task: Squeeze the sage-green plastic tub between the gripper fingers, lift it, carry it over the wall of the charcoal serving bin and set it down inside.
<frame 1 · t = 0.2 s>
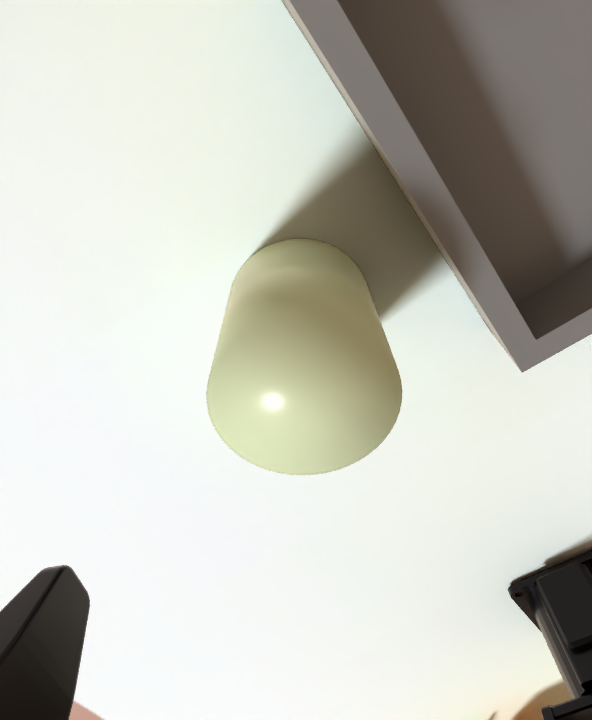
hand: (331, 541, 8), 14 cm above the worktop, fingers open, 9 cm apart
salad tub: (299, 307, 22), on the worktop
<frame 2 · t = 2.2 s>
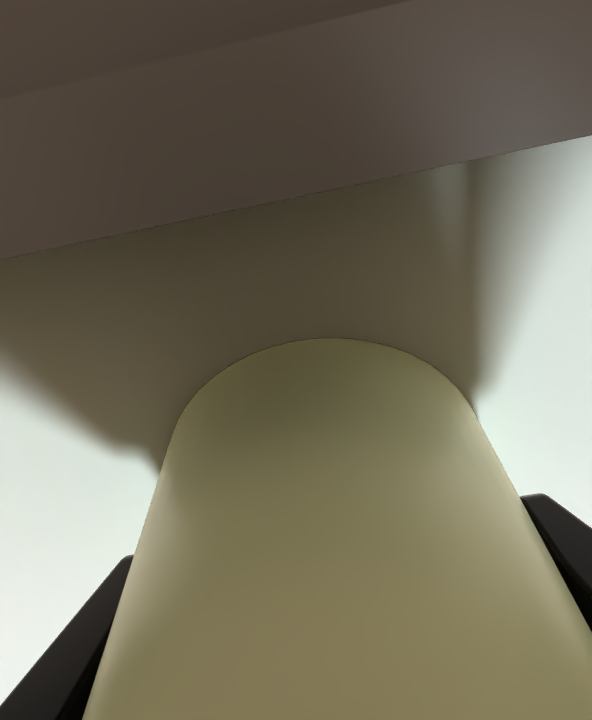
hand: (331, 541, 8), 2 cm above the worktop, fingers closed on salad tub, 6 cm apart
salad tub: (325, 476, 10), on the worktop, touching gripper
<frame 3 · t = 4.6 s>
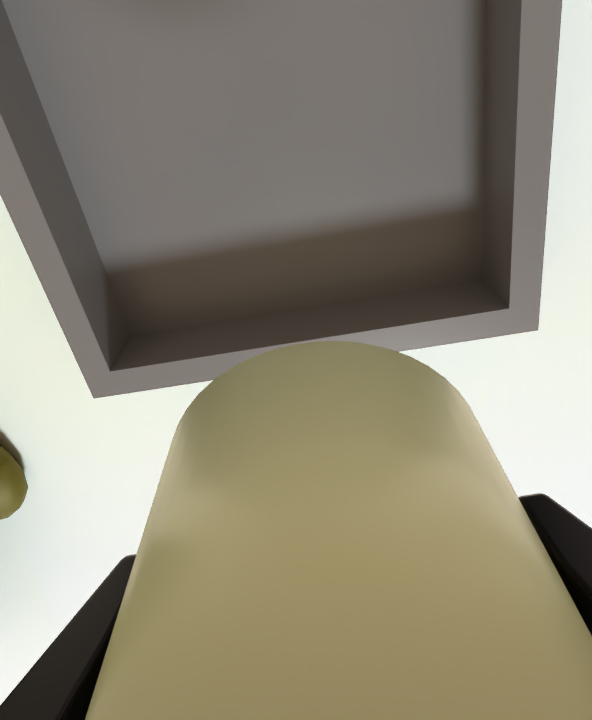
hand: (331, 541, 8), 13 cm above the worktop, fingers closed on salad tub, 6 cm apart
salad tub: (325, 478, 10), point 12 cm above the worktop, touching gripper
serving bin: (266, 111, 17), on the worktop
when the fingers open (4 cm above the worktop, at t = 7.2 s): salad tub drops 1 cm, resting on serving bin.
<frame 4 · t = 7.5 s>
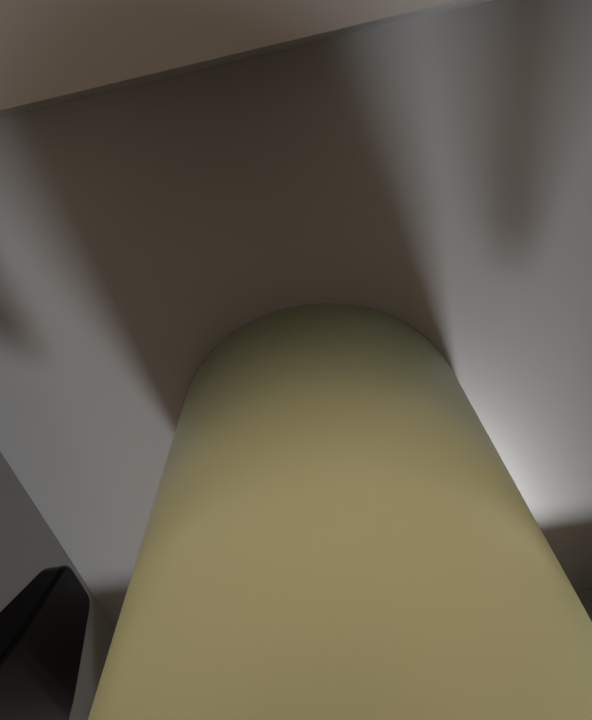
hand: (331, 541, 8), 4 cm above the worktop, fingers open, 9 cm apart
salad tub: (322, 430, 11), point 1 cm above the worktop, touching serving bin
serving bin: (317, 407, 12), on the worktop
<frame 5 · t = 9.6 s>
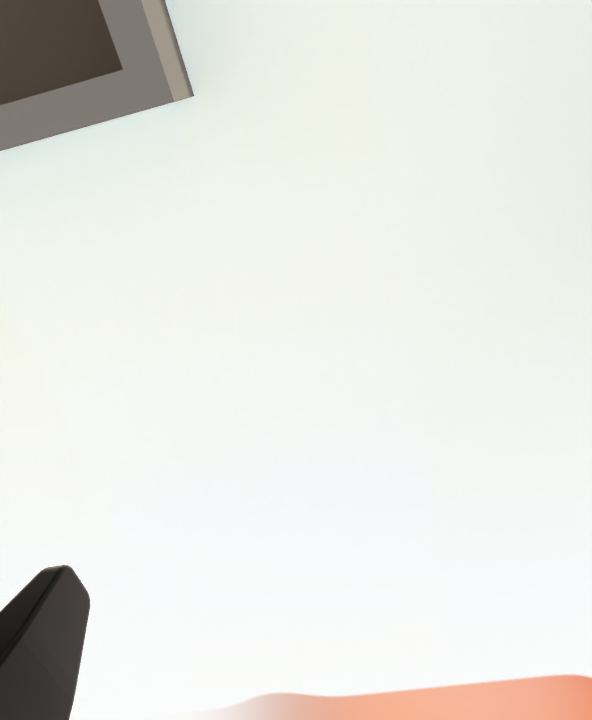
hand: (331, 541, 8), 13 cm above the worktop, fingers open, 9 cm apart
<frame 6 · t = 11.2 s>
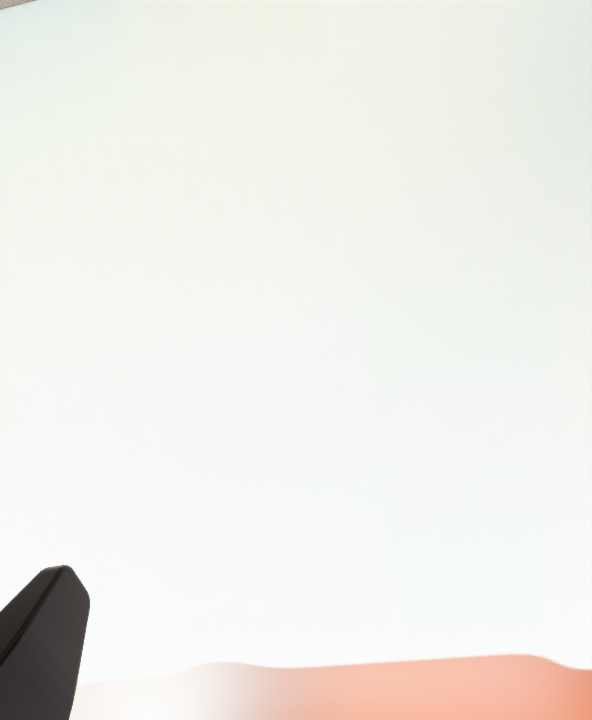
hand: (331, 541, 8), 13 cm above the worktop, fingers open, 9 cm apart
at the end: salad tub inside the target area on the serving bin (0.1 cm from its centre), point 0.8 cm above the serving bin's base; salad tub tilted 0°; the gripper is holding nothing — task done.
